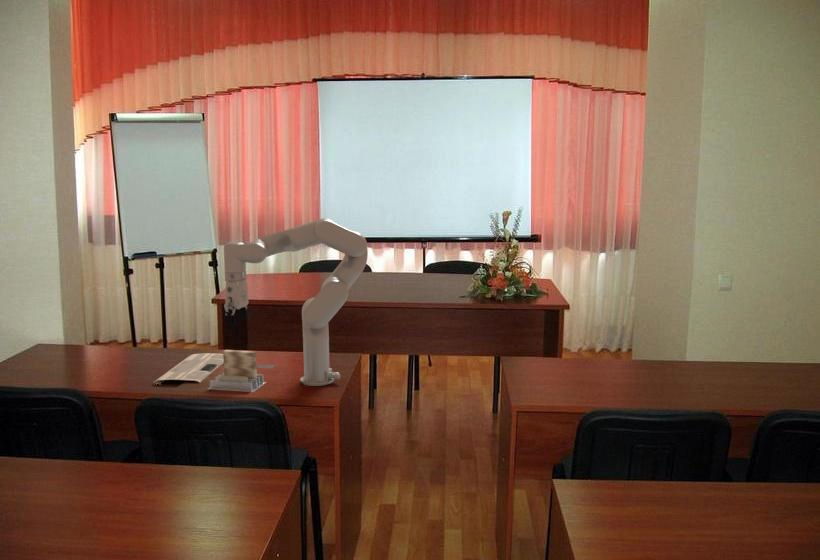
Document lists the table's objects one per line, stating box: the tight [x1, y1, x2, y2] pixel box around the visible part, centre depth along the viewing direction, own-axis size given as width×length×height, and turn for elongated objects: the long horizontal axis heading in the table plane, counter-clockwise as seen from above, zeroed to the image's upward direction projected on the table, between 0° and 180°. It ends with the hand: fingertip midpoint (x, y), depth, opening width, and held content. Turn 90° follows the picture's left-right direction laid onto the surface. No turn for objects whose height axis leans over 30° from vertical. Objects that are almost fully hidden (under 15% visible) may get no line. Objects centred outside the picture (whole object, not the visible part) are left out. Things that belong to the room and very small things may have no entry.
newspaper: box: [153, 352, 224, 386], centre depth 297 cm, size 37×19×3 cm, turn 176°
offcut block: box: [219, 374, 248, 382], centre depth 271 cm, size 10×3×4 cm, turn 78°
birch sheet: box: [222, 349, 258, 377], centre depth 276 cm, size 12×2×12 cm, turn 78°
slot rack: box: [207, 371, 268, 393], centre depth 274 cm, size 18×12×4 cm, turn 78°
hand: (237, 323), depth 274 cm, fingers open, 9 cm apart
